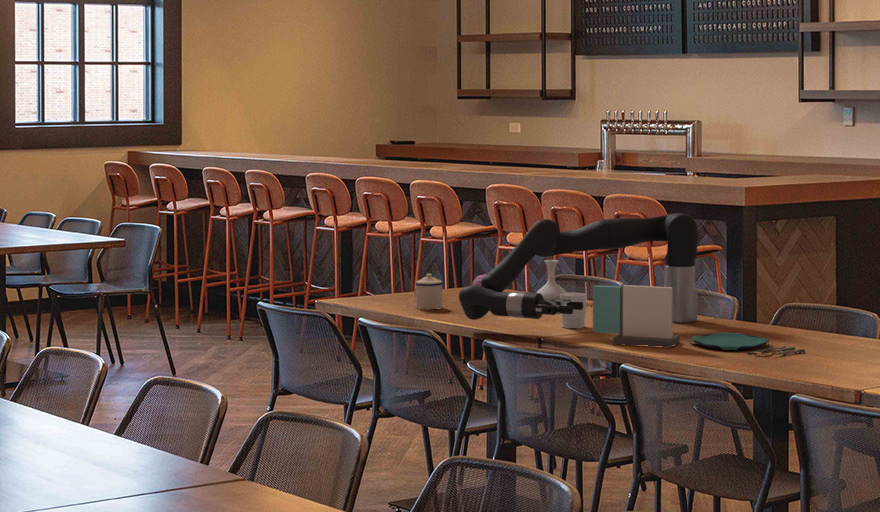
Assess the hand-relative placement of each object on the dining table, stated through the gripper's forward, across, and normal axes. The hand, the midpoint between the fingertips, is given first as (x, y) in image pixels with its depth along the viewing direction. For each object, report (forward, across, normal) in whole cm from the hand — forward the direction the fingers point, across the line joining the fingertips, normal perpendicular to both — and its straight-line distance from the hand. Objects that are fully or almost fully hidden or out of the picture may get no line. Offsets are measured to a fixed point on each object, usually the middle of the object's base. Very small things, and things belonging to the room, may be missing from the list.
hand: (577, 308), depth 353 cm
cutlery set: (+46, +3, +10) cm, 47 cm away
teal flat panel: (+9, 0, +6) cm, 11 cm away
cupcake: (-53, +56, +9) cm, 78 cm away
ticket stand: (+20, 0, +9) cm, 22 cm away
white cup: (-8, +19, +9) cm, 23 cm away
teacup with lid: (-67, +38, +9) cm, 78 cm away
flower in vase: (-35, +72, +9) cm, 80 cm away
